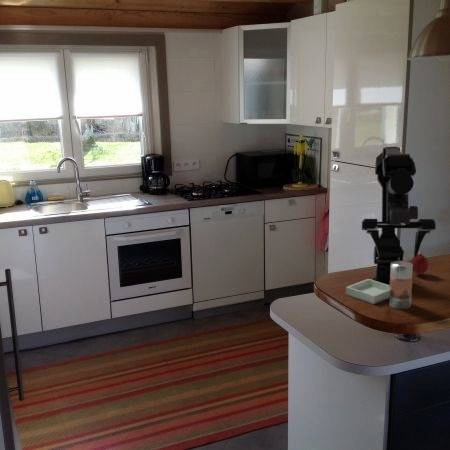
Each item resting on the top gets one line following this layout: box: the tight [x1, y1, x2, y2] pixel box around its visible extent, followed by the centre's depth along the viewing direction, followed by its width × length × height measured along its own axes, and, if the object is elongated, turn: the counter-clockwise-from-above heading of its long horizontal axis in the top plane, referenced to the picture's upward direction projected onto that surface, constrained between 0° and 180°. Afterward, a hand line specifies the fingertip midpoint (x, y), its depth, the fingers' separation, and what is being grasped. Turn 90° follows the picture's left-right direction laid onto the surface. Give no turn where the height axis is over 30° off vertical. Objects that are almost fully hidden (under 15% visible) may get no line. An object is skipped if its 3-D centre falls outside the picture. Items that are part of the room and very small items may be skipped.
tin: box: [389, 260, 413, 310], centre depth 157 cm, size 6×6×12 cm
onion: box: [409, 251, 430, 276], centre depth 181 cm, size 6×6×8 cm
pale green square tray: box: [345, 278, 390, 305], centre depth 167 cm, size 11×11×2 cm
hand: (397, 256), depth 146 cm, fingers open, 9 cm apart
